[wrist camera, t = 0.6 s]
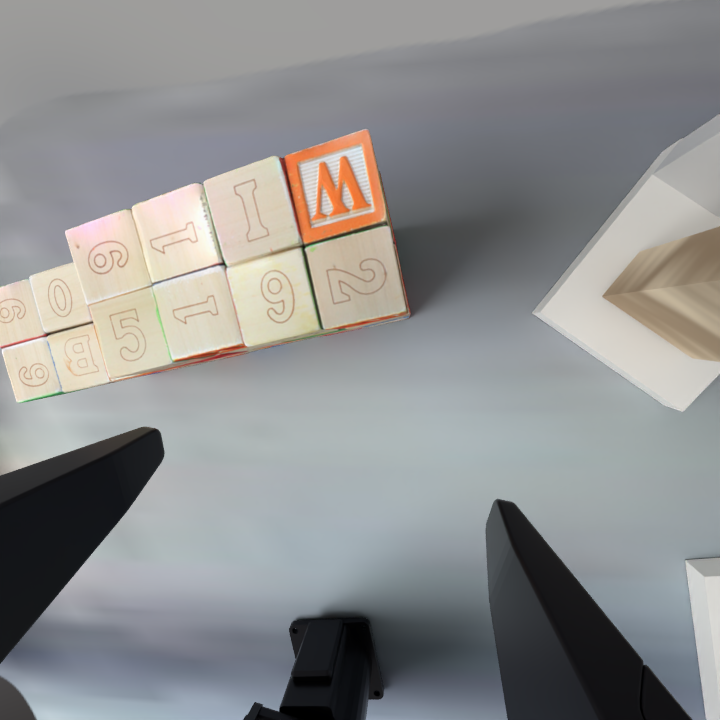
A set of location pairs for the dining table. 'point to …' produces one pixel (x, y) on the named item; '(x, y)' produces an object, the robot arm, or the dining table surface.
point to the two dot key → (676, 293)
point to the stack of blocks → (211, 274)
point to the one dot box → (707, 627)
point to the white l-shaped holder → (620, 246)
